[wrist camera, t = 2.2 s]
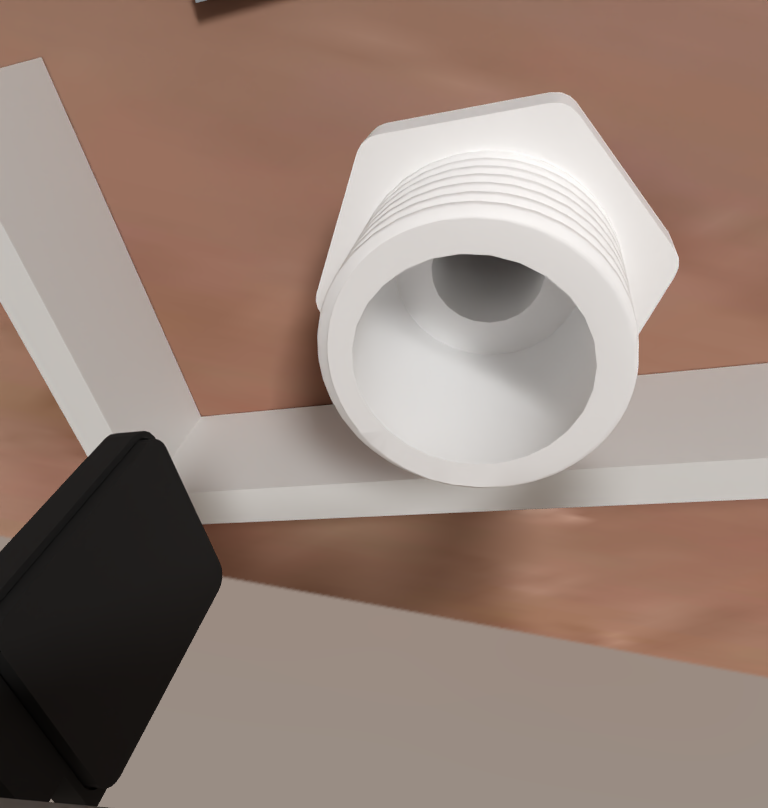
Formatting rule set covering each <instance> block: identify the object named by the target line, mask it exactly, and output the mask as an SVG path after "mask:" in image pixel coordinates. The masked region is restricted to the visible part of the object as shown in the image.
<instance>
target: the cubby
mask: <svg viewBox="0 0 768 808" xmlns="http://www.w3.org/2000/svg"><path fill="white" fill-rule="evenodd" d="M0 302H1V304H2V305H3V307H4V309H5V311H6V313H7V314H8V316H9V318H10V320H11V321H12V323H13V325H14V327H15V329H16V330H17V332H18V334H19V336H20V337H21V339H22V341H23V343H24V344H25V346H26V348H27V350H28V352H29V353H30V355H31V357H32V359H33V360H34V362H35V364H36V366H37V368H38V369H39V371H40V373H41V375H42V376H43V378H44V380H45V382H46V383H47V385H48V387H49V389H50V391H51V392H52V394H53V396H54V398H55V399H56V401H57V403H58V405H59V407H60V408H61V410H62V412H63V414H64V415H65V417H66V419H67V421H68V422H69V424H70V426H71V428H72V430H73V431H74V433H75V435H76V437H77V438H78V440H79V442H80V444H81V445H82V447H83V449H84V451H85V453H86V454H87V456H89V455H90V454H91V453H92V452H93V451H94V450H95V449H96V448H97V446H98V445H99V444H100V443H101V442H102V441H103V440H104V439H105V438H106V437H107V436H109V435H110V434H115V433H125V432H136V431H147V432H150V433H151V434H152V435H153V436H154V437H155V438H156V439H158V440H161V441H162V442H163V443H164V445H165V446H166V448H167V450H168V452H169V454H170V456H171V459H172V461H173V463H174V465H175V467H176V469H177V472H178V474H179V476H180V478H181V480H182V482H183V485H184V487H185V489H186V491H187V493H188V495H189V497H190V500H191V502H192V504H193V506H194V508H195V510H196V513H197V515H198V517H199V519H200V521H201V523H202V524H217V523H239V522H261V521H283V520H305V519H327V518H349V517H371V516H393V515H415V514H437V513H459V512H481V511H503V510H525V509H547V508H569V507H591V506H613V505H635V504H657V503H679V502H701V501H722V500H744V499H766V498H768V363H764V364H754V365H743V366H733V367H722V368H711V369H701V370H690V371H680V372H669V373H659V374H648V375H638V376H637V379H636V384H635V387H634V391H633V394H632V397H631V399H630V402H629V404H628V407H627V409H626V411H625V412H624V414H623V416H622V418H621V419H620V421H619V422H618V424H617V425H616V427H615V428H614V429H613V431H612V432H611V433H610V434H609V435H608V437H607V438H606V439H605V440H604V441H603V442H602V443H601V444H600V445H599V446H598V447H597V448H596V449H594V450H593V451H592V452H591V453H589V454H588V455H587V456H586V457H584V458H583V459H581V460H580V461H578V462H577V463H575V464H574V465H572V466H570V467H568V468H566V469H564V470H562V471H560V472H558V473H556V474H554V475H551V476H548V477H546V478H543V479H540V480H537V481H533V482H530V483H525V484H519V485H514V486H509V487H496V488H471V487H463V486H454V485H448V484H444V483H440V482H436V481H433V480H429V479H426V478H423V477H420V476H417V475H415V474H413V473H410V472H408V471H406V470H403V469H401V468H399V467H397V466H396V465H394V464H392V463H390V462H389V461H387V460H386V459H384V458H382V457H381V456H380V455H378V454H377V453H375V452H374V451H373V450H371V449H370V448H369V447H368V446H367V445H365V444H364V443H363V442H362V441H361V440H360V439H359V438H358V437H357V436H356V435H355V434H354V432H353V431H352V430H351V429H350V427H349V426H348V425H347V424H346V422H345V421H344V420H343V419H342V417H341V416H340V414H339V412H338V411H337V409H336V407H335V405H334V404H332V405H321V406H311V407H300V408H290V409H279V410H269V411H258V412H248V413H237V414H227V415H216V416H205V417H201V416H200V413H199V411H198V409H197V407H196V404H195V402H194V400H193V398H192V395H191V393H190V391H189V389H188V386H187V384H186V382H185V380H184V377H183V375H182V373H181V371H180V368H179V366H178V364H177V362H176V359H175V357H174V355H173V353H172V350H171V348H170V346H169V344H168V341H167V339H166V337H165V335H164V332H163V330H162V328H161V326H160V323H159V321H158V319H157V317H156V314H155V312H154V310H153V308H152V305H151V303H150V301H149V299H148V296H147V294H146V292H145V290H144V287H143V285H142V283H141V281H140V278H139V276H138V274H137V272H136V269H135V267H134V265H133V263H132V260H131V258H130V256H129V253H128V251H127V249H126V247H125V244H124V242H123V240H122V238H121V235H120V233H119V231H118V229H117V226H116V224H115V222H114V220H113V217H112V215H111V213H110V211H109V208H108V206H107V204H106V202H105V199H104V197H103V195H102V193H101V190H100V188H99V186H98V184H97V181H96V179H95V177H94V175H93V172H92V170H91V168H90V166H89V163H88V161H87V159H86V157H85V154H84V152H83V150H82V148H81V145H80V143H79V141H78V139H77V136H76V134H75V132H74V130H73V127H72V125H71V123H70V121H69V118H68V116H67V114H66V112H65V109H64V107H63V105H62V103H61V100H60V98H59V96H58V94H57V91H56V89H55V87H54V85H53V82H52V80H51V78H50V76H49V73H48V71H47V69H46V67H45V64H44V62H43V60H42V57H40V58H37V59H33V60H29V61H25V62H22V63H18V64H14V65H11V66H7V67H3V68H0Z"/></svg>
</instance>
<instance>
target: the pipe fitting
mask: <svg viewBox="0 0 768 808" xmlns="http://www.w3.org/2000/svg"><path fill="white" fill-rule="evenodd" d="M678 268H679V257H678V255H677V252H676V250H675V247H674V244H673V242H672V239H671V237H670V235H669V232H668V231H667V229H666V228H665V227H664V225H663V224H662V222H661V221H660V220H659V218H658V217H657V215H656V214H655V212H654V211H653V210H652V208H651V207H650V205H649V204H648V203H647V201H646V200H645V198H644V197H643V195H642V194H641V193H640V191H639V190H638V188H637V187H636V186H635V184H634V183H633V181H632V180H631V178H630V177H629V176H628V174H627V173H626V171H625V170H624V169H623V167H622V166H621V164H620V163H619V161H618V160H617V159H616V157H615V156H614V154H613V153H612V152H611V150H610V149H609V147H608V146H607V144H606V143H605V142H604V140H603V139H602V137H601V136H600V135H599V133H598V132H597V130H596V129H595V127H594V126H593V125H592V123H591V122H590V120H589V119H588V118H587V116H586V115H585V113H584V112H583V110H582V109H581V108H580V106H579V105H578V103H577V102H576V101H575V100H574V99H573V98H572V97H570V96H569V95H566V94H564V93H561V92H549V93H544V94H539V95H533V96H528V97H523V98H517V99H512V100H507V101H501V102H496V103H491V104H485V105H480V106H475V107H469V108H464V109H459V110H453V111H448V112H443V113H437V114H432V115H427V116H422V117H416V118H411V119H406V120H400V121H395V122H390V123H385V124H383V125H380V126H378V127H377V128H376V129H374V130H373V131H372V132H371V133H370V135H369V136H368V137H367V138H366V139H365V140H364V142H363V143H362V144H361V146H360V148H359V150H358V152H357V154H356V158H355V161H354V165H353V168H352V171H351V175H350V178H349V182H348V185H347V189H346V192H345V196H344V199H343V203H342V206H341V210H340V213H339V217H338V220H337V224H336V227H335V231H334V234H333V238H332V241H331V245H330V248H329V252H328V255H327V259H326V262H325V266H324V269H323V273H322V276H321V280H320V283H319V287H318V290H317V294H316V304H317V307H318V310H319V311H320V318H319V325H318V332H317V342H318V359H319V364H320V368H321V373H322V378H323V381H324V383H325V386H326V388H327V391H328V393H329V396H330V398H331V400H332V402H333V404H334V405H335V407H336V409H337V411H338V412H339V414H340V416H341V417H342V419H343V420H344V421H345V422H346V424H347V425H348V426H349V427H350V429H351V430H352V431H353V432H354V434H355V435H356V436H357V437H358V438H359V439H360V440H361V441H362V442H363V443H364V444H365V445H367V446H368V447H369V448H370V449H371V450H373V451H374V452H375V453H377V454H378V455H380V456H381V457H382V458H384V459H386V460H387V461H389V462H390V463H392V464H394V465H396V466H397V467H399V468H401V469H403V470H406V471H408V472H410V473H413V474H415V475H417V476H420V477H423V478H426V479H429V480H433V481H436V482H440V483H444V484H448V485H454V486H463V487H471V488H496V487H509V486H514V485H519V484H525V483H530V482H533V481H537V480H540V479H543V478H546V477H548V476H551V475H554V474H556V473H558V472H560V471H562V470H564V469H566V468H568V467H570V466H572V465H574V464H575V463H577V462H578V461H580V460H581V459H583V458H584V457H586V456H587V455H588V454H589V453H591V452H592V451H593V450H594V449H596V448H597V447H598V446H599V445H600V444H601V443H602V442H603V441H604V440H605V439H606V438H607V437H608V435H609V434H610V433H611V432H612V431H613V429H614V428H615V427H616V425H617V424H618V422H619V421H620V419H621V418H622V416H623V414H624V412H625V411H626V409H627V407H628V404H629V402H630V399H631V397H632V394H633V391H634V387H635V384H636V379H637V373H638V350H639V339H638V334H639V333H640V331H641V330H642V328H643V326H644V325H645V323H646V322H647V320H648V318H649V317H650V315H651V314H652V312H653V310H654V309H655V307H656V306H657V304H658V302H659V301H660V299H661V298H662V296H663V294H664V293H665V291H666V290H667V288H668V286H669V285H670V283H671V282H672V280H673V278H674V277H675V275H676V272H677V270H678Z"/></svg>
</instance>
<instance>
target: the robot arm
mask: <svg viewBox="0 0 768 808" xmlns="http://www.w3.org/2000/svg"><path fill="white" fill-rule="evenodd" d="M221 581H222V568H221V565H220V562H219V560H218V558H217V556H216V554H215V551H214V549H213V547H212V545H211V543H210V541H209V538H208V536H207V534H206V532H205V530H204V528H203V526H202V523H201V521H200V519H199V517H198V515H197V513H196V510H195V508H194V506H193V504H192V502H191V500H190V497H189V495H188V493H187V491H186V489H185V487H184V485H183V482H182V480H181V478H180V476H179V474H178V472H177V469H176V467H175V465H174V463H173V461H172V459H171V456H170V454H169V452H168V450H167V448H166V446H165V445H164V443H163V442H162V441H161V440H158V439H156V438H155V437H154V436H153V435H152V434H151V433H150V432H147V431H136V432H125V433H115V434H110V435H109V436H107V437H106V438H105V439H104V440H103V441H102V442H101V443H100V444H99V445H98V446H97V448H96V449H95V450H94V451H93V452H92V453H91V454H90V455H89V456H88V457H87V458H86V459H85V461H84V462H83V463H82V464H81V465H80V466H79V467H78V468H77V469H76V470H75V471H74V472H73V474H72V475H71V476H70V477H69V478H68V479H67V480H66V481H65V482H64V483H63V484H62V485H61V487H60V488H59V489H58V490H57V491H56V492H55V493H54V494H53V495H52V496H51V497H50V498H49V500H48V501H47V502H46V503H45V504H44V505H43V506H42V507H41V508H40V509H39V510H38V511H37V513H36V514H35V515H34V516H33V517H32V518H31V519H30V520H29V521H28V522H27V523H26V524H25V525H24V527H23V528H22V529H21V530H20V531H19V532H18V533H17V534H16V535H15V536H14V537H13V538H12V540H11V541H10V542H9V543H8V544H7V545H6V546H5V547H4V548H3V550H2V551H1V552H0V808H106V807H97V806H98V804H99V802H100V800H101V798H102V797H103V795H104V793H105V791H106V789H107V788H109V787H111V786H112V785H113V784H115V782H117V780H118V779H119V777H120V776H121V774H122V772H123V770H124V768H125V766H126V764H127V762H128V760H129V758H130V757H131V755H132V753H133V751H134V749H135V747H136V745H137V743H138V742H139V740H140V738H141V736H142V734H143V732H144V730H145V728H146V726H147V725H148V723H149V721H150V719H151V717H152V715H153V713H154V711H155V709H156V708H157V706H158V704H159V702H160V700H161V698H162V696H163V694H164V692H165V691H166V689H167V687H168V685H169V683H170V681H171V679H172V677H173V675H174V674H175V672H176V670H177V668H178V666H179V664H180V662H181V660H182V658H183V657H184V655H185V653H186V651H187V649H188V647H189V645H190V643H191V642H192V639H193V638H194V636H195V634H196V632H197V630H198V628H199V626H200V624H201V623H202V621H203V619H204V617H205V615H206V613H207V611H208V609H209V607H210V606H211V604H212V602H213V600H214V598H215V596H216V594H217V592H218V591H219V588H220V586H221ZM50 799H52V800H53V801H54V803H52V802H49V801H50Z"/></svg>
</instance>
